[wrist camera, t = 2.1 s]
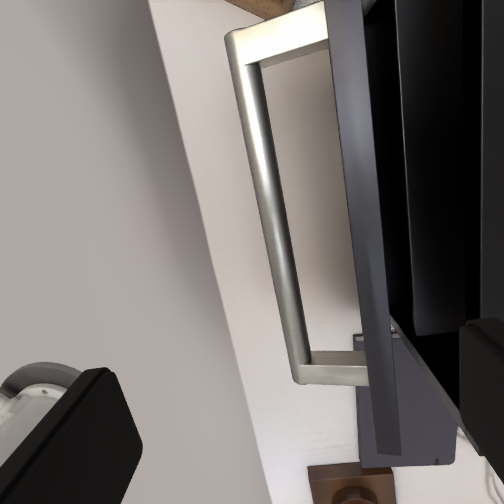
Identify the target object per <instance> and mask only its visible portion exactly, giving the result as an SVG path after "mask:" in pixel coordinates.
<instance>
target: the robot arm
mask: <svg viewBox="0 0 504 504" xmlns="http://www.w3.org/2000/svg"><path fill="white" fill-rule="evenodd" d="M459 384H460V416H461V419H462V422H463V424H464V426H465V428H466V430H467V431H468V432H469V434H470V435H471V437H472V438H473V440H474V441H475V443H476V444H477V446H478V447H479V449H480V450H481V452H482V453H483V455H484V456H485V457H486V459H487V460H488V462H489V463H490V465H491V466H492V468H493V469H494V471H495V472H496V474H497V475H498V477H499V478H500V479H501V481H502V482H503V484H504V323H503V322H502V321H500V320H499V319H497V318H496V317H488V318H480V319H473V320H468V321H467V322H466V324H465V327H461V328H460V330H459ZM142 449H143V445H142V441H141V438H140V435H139V433H138V430H137V428H136V425H135V423H134V420H133V417H132V415H131V412H130V410H129V407H128V405H127V402H126V400H125V397H124V395H123V392H122V389H121V387H120V384H119V382H118V379H117V377H116V374H115V373H114V372H111V371H110V370H109V369H108V368H106V367H103V368H95V369H88V370H85V371H84V372H82V373H81V375H80V376H79V377H78V378H77V379H76V380H75V381H74V383H73V384H72V385H71V386H70V387H69V388H68V389H67V388H64V387H62V386H59V385H55V384H48V383H38V384H34V385H31V386H28V387H26V388H25V389H23V390H22V391H21V392H20V393H19V394H18V395H17V396H16V397H13V398H12V399H9V398H8V397H6V396H4V395H3V394H1V393H0V504H121V502H122V499H123V497H124V495H125V492H126V490H127V488H128V486H129V483H130V481H131V479H132V476H133V474H134V472H135V470H136V467H137V465H138V463H139V461H140V458H141V455H142Z"/></svg>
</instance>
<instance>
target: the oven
mask: <svg viewBox="0 0 504 504" xmlns="http://www.w3.org/2000/svg"><path fill="white" fill-rule="evenodd" d="M362 7H363V18H364V29H365V41H366V52H367V63H368V75H369V86H370V97H371V109H372V120H373V131H374V142H375V154H376V165H377V176H378V188H379V199H380V210H381V222H382V233H383V244H384V256H385V267H386V278H387V290H388V301H389V312H390V323H391V325H392V326H393V328H394V329H395V331H396V332H397V334H398V335H399V337H400V338H401V340H402V341H403V343H404V344H405V346H406V347H407V349H408V350H409V352H410V353H411V355H412V356H413V358H414V359H415V361H416V362H417V364H418V365H419V367H420V368H421V370H422V371H423V373H424V374H425V376H426V377H427V379H428V380H429V382H430V383H431V385H432V386H433V388H434V389H435V391H436V392H437V393H438V395H439V396H440V398H441V399H442V401H443V402H444V404H445V405H446V407H447V408H448V410H449V411H450V413H451V414H452V416H453V417H454V419H455V420H456V422H457V423H458V425H459V426H460V428H461V429H462V431H463V432H464V434H465V435H466V436H467V438H468V440H469V441H470V443H471V444H472V446H473V447H474V449H475V450H476V452H477V453H478V455H479V456H484V455H483V453H482V452H481V450H480V449H479V447H478V446H477V444H476V443H475V441H474V440H473V438H472V437H471V435H470V434H469V432H468V431H467V430H466V428H465V426H464V424H463V422H462V419H461V416H460V384H459V330H460V328H461V327H465V324H466V322H467V321H468V320H473V319H480V318H488V317H496V318H497V319H499V320H500V321H502V322H503V323H504V0H362Z"/></svg>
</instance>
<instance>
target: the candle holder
mask: <svg viewBox="0 0 504 504" xmlns="http://www.w3.org/2000/svg"><path fill="white" fill-rule="evenodd" d="M225 1H228V2H230V3H232V4H234V5H236V6H238V7H240V8H242V9H244V10H246V11H248V12H251V13H253V14H255V15H257V16H259V17H261V18H263V19H265V20H269V19H271V18H274V17H277V16H280V15H282V14H285V13H288V12H291V10H292V8H293V6H294V3H295V0H225Z"/></svg>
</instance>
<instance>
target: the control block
mask: <svg viewBox="0 0 504 504" xmlns="http://www.w3.org/2000/svg"><path fill="white" fill-rule="evenodd" d="M308 476H309V483H310V488H311V493H312V498H313V503H314V504H396V494H395V485H394V475H393V471H392V469H391V467H376V468H362V466H361V463H360V462H357V463H345V464H334V465H322V466H311V467H308Z"/></svg>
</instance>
